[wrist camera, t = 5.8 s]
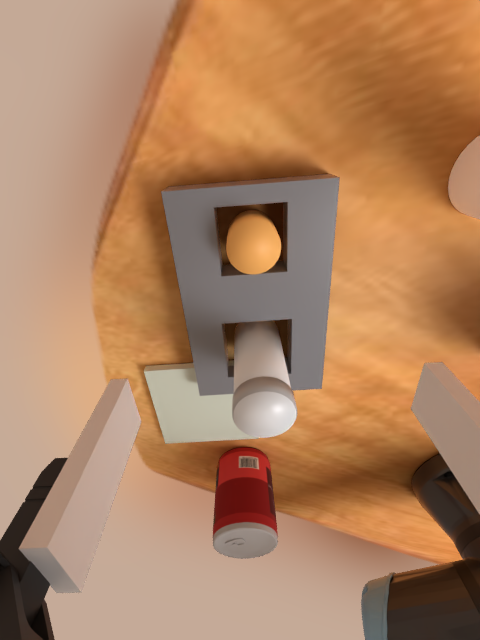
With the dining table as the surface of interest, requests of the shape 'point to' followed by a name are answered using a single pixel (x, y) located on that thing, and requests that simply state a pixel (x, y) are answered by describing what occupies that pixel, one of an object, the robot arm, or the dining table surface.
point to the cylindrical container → (466, 181)
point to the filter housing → (255, 289)
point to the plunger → (252, 242)
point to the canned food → (244, 505)
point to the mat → (189, 406)
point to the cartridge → (261, 381)
